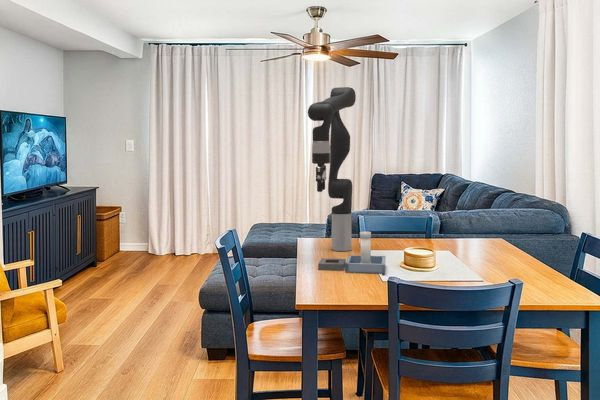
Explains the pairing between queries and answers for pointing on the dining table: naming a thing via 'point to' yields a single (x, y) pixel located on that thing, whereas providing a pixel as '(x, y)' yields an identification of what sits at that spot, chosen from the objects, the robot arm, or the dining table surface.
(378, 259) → the parts tray
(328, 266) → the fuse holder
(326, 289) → the dining table surface
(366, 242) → the fuse
